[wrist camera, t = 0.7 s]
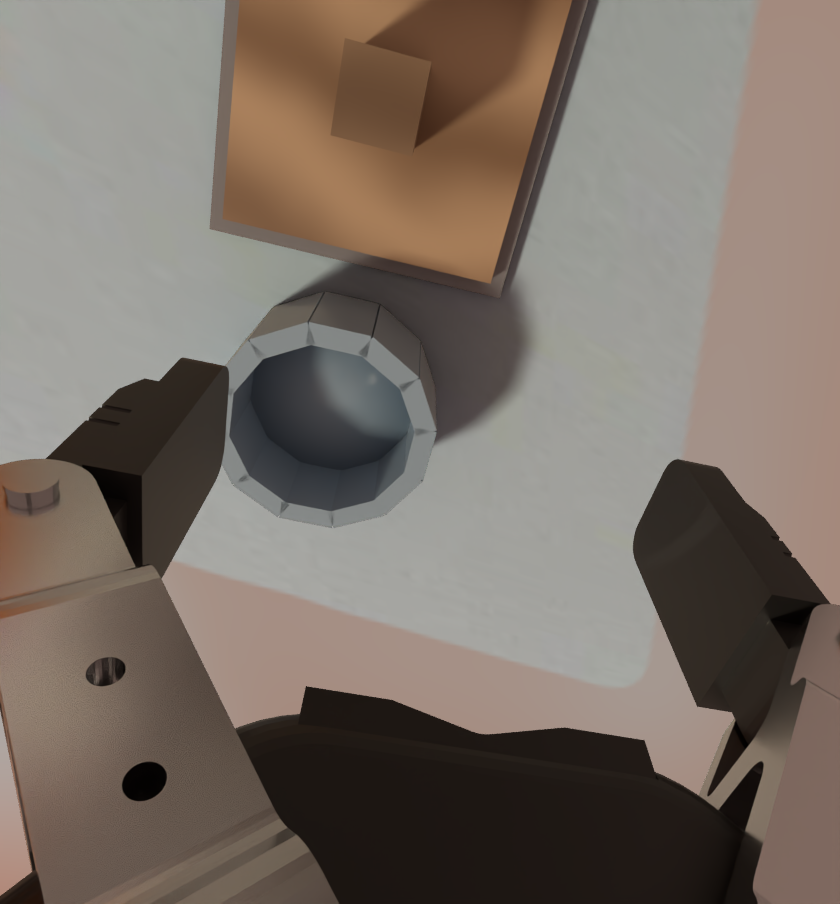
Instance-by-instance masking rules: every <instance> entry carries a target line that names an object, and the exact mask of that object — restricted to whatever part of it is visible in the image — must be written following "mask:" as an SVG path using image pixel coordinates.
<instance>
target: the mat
mask: <svg viewBox="0 0 840 904" xmlns="http://www.w3.org/2000/svg"><path fill="white" fill-rule="evenodd" d="M587 3H588V0H572V2H571V6H570V9H569V13H568V16H567V20H566V23H565V27H564V30H563V34H562V37H561V41H560V44H559V47H558V51H557V54H556V58H555V61H554V65H553V68H552V72H551V75H550V79H549V82H548V86H547V89H546V93H545V96H544V100H543V103H542V107H541V110H540V113H539V117H538V120H537V124H536V127H535V131H534V134H533V138H532V141H531V145H530V148H529V152H528V155H527V159H526V162H525V166H524V169H523V173H522V176H521V179H520V183H519V186H518V190H517V193H516V197H515V200H514V204H513V207H512V211H511V214H510V218H509V221H508V225H507V228H506V232H505V235H504V238H503V242H502V245H501V249H500V252H499V256H498V259H497V263H496V266H495V270H494V273H493V277H492V280H491V284H489V283H485V282H481V281H477V280H473V279H469V278H465V277H460V276H456V275H452V274H448V273H444V272H440V271H436V270H431V269H427V268H423V267H419V266H415V265H411V264H407V263H402V262H398V261H394V260H390V259H386V258H382V257H378V256H373V255H369V254H365V253H361V252H357V251H353V250H349V249H344V248H340V247H336V246H332V245H328V244H324V243H320V242H315V241H311V240H307V239H303V238H299V237H295V236H291V235H286V234H282V233H278V232H274V231H270V230H266V229H262V228H257V227H253V226H249V225H245V224H241V223H237V222H233V221H228V220H224V219H222V218H223V205H224V192H225V180H226V167H227V154H228V141H229V128H230V115H231V103H232V90H233V77H234V64H235V51H236V39H237V26H238V13H239V0H226V3H225V17H224V31H223V46H222V60H221V75H220V89H219V104H218V118H217V132H216V147H215V161H214V176H213V190H212V204H211V219H210V229H212V230H216V231H221V232H225V233H229V234H233V235H237V236H241V237H246V238H250V239H254V240H258V241H262V242H267V243H271V244H275V245H279V246H283V247H287V248H292V249H296V250H300V251H304V252H308V253H312V254H317V255H321V256H325V257H329V258H333V259H338V260H342V261H346V262H350V263H354V264H358V265H363V266H367V267H371V268H375V269H379V270H384V271H388V272H392V273H396V274H400V275H404V276H409V277H413V278H417V279H421V280H425V281H429V282H434V283H438V284H442V285H446V286H450V287H455V288H459V289H463V290H467V291H471V292H475V293H480V294H484V295H488V296H492V297H496V298H500V295H501V292H502V288H503V285H504V282H505V278H506V275H507V272H508V268H509V265H510V262H511V258H512V255H513V251H514V248H515V245H516V241H517V238H518V235H519V231H520V228H521V225H522V221H523V218H524V215H525V211H526V208H527V205H528V201H529V198H530V194H531V191H532V188H533V184H534V181H535V178H536V174H537V171H538V168H539V164H540V161H541V158H542V154H543V151H544V148H545V144H546V141H547V137H548V134H549V131H550V127H551V124H552V121H553V117H554V114H555V111H556V107H557V104H558V101H559V97H560V94H561V91H562V87H563V84H564V80H565V77H566V74H567V70H568V67H569V64H570V60H571V57H572V54H573V50H574V47H575V44H576V40H577V37H578V34H579V30H580V27H581V23H582V20H583V17H584V13H585V10H586V7H587Z"/></svg>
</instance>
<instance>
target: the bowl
mask: <svg viewBox="0 0 840 904" xmlns="http://www.w3.org/2000/svg"><path fill="white" fill-rule="evenodd" d="M225 366H226V367H227V368H228V371H229V392H228V406H227V420H226V435H225V448H224V455H223V460H222V466H223V468H224V470H225V471H226V473H227V475H228V477H229V479H230V481H231V483H232V484H234V485H233V486H235V487H236V488H237V489H239V490H240V491H242V492H243V493H244V494H246V495H247V496H249V497H250V498H251V499H253V500H254V501H256V502H257V503H258V504H260V505H261V506H263V507H264V508H266V509H267V510H268V511H270V512H271V513H273V514H274V515H275V516H277V517H278V516H279V515H280V516H279V518H283V519H288V520H293V521H298V522H303V523H309V524H314V525H319V526H324V527H329V528H332V526H333V528H336V527H340V526H344V525H348V524H352V523H356V522H361V521H365V520H369V519H373V518H377V517H381V516H384V514H385V515H386V514H387V513H388V512H389V511H391V510H392V509H393V508H394V507H395V506H396V505H397V504H398V503H399V502H401V501H402V500H403V499H404V498H405V497H406V496H407V495H408V494H409V493H411V492H412V491H413V490H414V489H415V488H416V487H417V486H418V485H419V484H421V483H422V481H423V480H424V476H425V473H426V469H427V465H428V462H429V458H430V455H431V451H432V447H433V444H434V440H435V437H436V433H437V424H436V388H435V385H434V382H433V378H432V375H431V372H430V369H429V366H428V362H427V359H426V356H425V353H424V350H423V346H422V343H421V342H420V340H419V339H418V338H417V337H416V336H415V335H414V334H413V333H412V332H410V331H409V330H408V329H407V328H406V327H405V326H404V325H403V324H402V323H400V322H399V321H398V320H397V319H396V318H395V317H394V316H393V315H392V314H391V313H389V312H388V311H387V310H386V309H385V308H384V307H383V306H382V305H380V306H379V304H378V303H374V302H369V301H365V300H361V299H356V298H352V297H348V296H344V295H339V294H335V293H331V292H321V293H317V294H314V295H311V296H307V297H304V298H301V299H298V300H294V301H291V302H288V303H285V304H281V305H278V306H275V307H273V308H272V309H271V310H270V311H269V312H268V314H267V315H266V316H265V317H264V318H263V320H262V321H261V322H260V323H259V324H258V326H257V327H256V328H255V329H254V330H253V332H252V333H251V334H250V335H249V336H248V338H247V339H246V340H245V341H244V342H243V343H242V345H241V346H240V347H239V349H238V350H237V351H236V352H235V354H234V355H233V356H232V358H231V359H230V360H229V361H228V363H227V364H226V365H225Z"/></svg>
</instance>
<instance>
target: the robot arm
mask: <svg viewBox="0 0 840 904" xmlns="http://www.w3.org/2000/svg"><path fill="white" fill-rule="evenodd" d="M228 392H229V371H228V368H227V367H226V366H222V365H217V364H212V363H207V362H202V361H197V360H192V359H187V358H181V359H180V360H178V362H177V363H176V364H175V365H174V366H173V367H172V368H171V369H170V370H169V371H168V372H167V373H166V374H165V376H164V377H163V378H162V379H161V380H160V381H154V380H149V379H143V380H140V381H138V382H135V383H133V384H130V385H128V386H125V387H123V388H120V389H118V390H117V391H116V392H115V393H114V394H113V395H112V396H111V397H110V398H109V399H108V400H107V401H105V402H104V403H103V404H102V408H100V407H99V408H98V409H97V410H96V411H95V412H94V413H93V414H92V415H91V416H90V417H89V421H85V422H84V423H83V424H82V425H80V426H79V427H78V428H77V429H76V430H75V431H74V432H73V433H72V434H71V435H70V436H69V437H68V438H67V439H66V440H65V441H64V442H63V443H62V444H61V445H60V446H59V447H58V448H56V449H55V450H54V451H53V452H52V453H51V454H50V455H49V456H48V457H47V458H46V459H29V460H20V461H15V462H10V463H6V464H2V465H0V712H1V716H2V721H3V726H4V732H5V737H6V742H7V747H8V752H9V757H10V762H11V767H12V772H13V777H14V782H15V787H16V792H17V797H18V802H19V808H20V813H21V818H22V824H23V829H24V834H25V840H26V845H27V850H28V855H29V860H30V865H31V870H32V872H31V873H30V874H29V875H27V876H26V877H25V878H23V879H22V880H21V881H19V882H18V883H17V884H16V885H14V886H13V887H12V888H11V889H9V890H8V891H6V892H5V893H4V894H2V895H1V896H0V904H840V606H839V605H834V604H830V603H829V601H828V600H827V599H826V598H825V596H824V595H823V594H822V592H821V591H820V590H819V588H818V587H817V586H816V584H815V583H814V582H813V580H812V579H811V578H810V576H809V575H808V574H807V573H806V571H805V570H804V569H803V567H802V566H801V565H800V563H799V562H798V561H797V560H796V558H793V557H791V555H792V553H791V552H790V551H789V549H788V548H787V547H786V546H785V544H784V543H783V541H779V536H778V535H777V534H776V532H775V531H774V530H773V528H772V527H771V526H770V524H769V523H768V522H767V521H766V519H765V518H764V517H762V515H760V514H759V513H758V512H757V511H755V510H754V509H753V508H752V507H750V506H749V505H748V504H747V503H745V501H744V500H743V499H742V497H741V496H740V495H739V493H738V492H737V491H736V489H735V488H734V487H733V486H732V484H731V483H730V481H729V480H728V479H727V477H726V476H725V475H724V473H723V472H722V471H721V470H720V469H719V468H717V467H713V466H708V465H703V464H698V463H693V462H689V461H684V460H679V459H677V460H674V461H672V462H671V463H670V464H669V465H668V466H667V467H666V469H665V471H664V472H663V474H662V477H661V479H660V481H659V483H658V485H657V487H656V489H655V491H654V493H653V495H652V497H651V499H650V501H649V503H648V505H647V507H646V509H645V511H644V514H643V516H642V518H641V520H640V522H639V524H638V526H637V528H636V532H635V535H634V541H633V553H634V558H635V561H636V564H637V566H638V568H639V571H640V573H641V575H642V578H643V580H644V583H645V585H646V587H647V590H648V592H649V594H650V597H651V599H652V601H653V604H654V606H655V608H656V611H657V613H658V615H659V618H660V620H661V622H662V625H663V627H664V629H665V632H666V634H667V637H668V639H669V641H670V643H671V646H672V648H673V651H674V653H675V655H676V657H677V660H678V662H679V665H680V667H681V669H682V672H683V674H684V676H685V679H686V681H687V683H688V686H689V688H690V691H691V693H692V695H693V697H694V700H695V702H696V705H697V707H704V708H709V709H716V710H722V711H728V712H732V713H733V715H734V720H733V721H732V722H731V724H730V725H729V727H728V728H727V729H726V731H725V733H724V734H723V737H722V739H721V741H720V744H719V746H718V749H717V751H716V754H715V756H714V759H713V761H712V764H711V766H710V769H709V771H708V774H707V776H706V779H705V781H704V783H703V786H702V788H701V791H700V794H699V796H698V795H697V794H695V793H694V792H692V791H690V790H689V789H687V788H686V787H684V786H682V785H681V784H679V783H677V782H675V781H673V780H671V779H669V778H667V777H665V776H663V775H661V774H658V773H656V772H654V768H653V765H652V762H651V759H650V756H649V753H648V750H647V747H646V744H645V741H644V740H638V739H632V738H626V737H620V736H614V735H607V734H601V733H595V732H588V731H582V730H576V729H570V728H555V729H544V730H533V731H522V732H511V733H501V734H489V735H488V734H487V735H485V734H478V733H475V732H471V731H469V730H466V729H464V728H461V727H458V726H456V725H454V724H451V723H449V722H446V721H444V720H441V719H438V718H436V717H433V716H430V715H428V714H426V713H423V712H421V711H418V710H416V709H413V708H411V707H408V706H406V705H403V704H401V703H398V702H395V701H393V700H388V699H382V698H376V697H369V696H363V695H357V694H351V693H344V692H338V691H332V690H326V689H319V688H312V687H307V686H306V689H305V694H304V698H303V703H302V708H301V712H300V714H297V715H286V716H279V717H274V718H268V719H263V720H259V721H256V722H253V723H250V724H247V725H244V726H241V727H238V728H236V729H235V728H234V726H233V724H232V722H231V720H230V718H229V716H228V714H227V712H226V710H225V708H224V706H223V704H222V702H221V700H220V698H219V695H218V693H217V691H216V689H215V687H214V685H213V683H212V681H211V679H210V677H209V675H208V673H207V671H206V669H205V667H204V665H203V663H202V661H201V659H200V657H199V655H198V653H197V651H196V649H195V647H194V645H193V643H192V641H191V638H190V636H189V634H188V633H187V630H186V628H185V626H184V624H183V622H182V620H181V618H180V616H179V614H178V612H177V610H176V608H175V606H174V604H173V602H172V600H171V598H170V596H169V594H168V592H167V590H166V588H165V586H164V584H163V582H162V580H161V578H162V577H163V575H164V573H165V571H166V570H167V568H168V566H169V564H170V562H171V561H172V559H173V557H174V555H175V553H176V551H177V550H178V548H179V546H180V544H181V542H182V541H183V539H184V537H185V535H186V533H187V532H188V530H189V528H190V526H191V524H192V523H193V521H194V519H195V517H196V515H197V514H198V512H199V510H200V508H201V506H202V504H203V503H204V501H205V499H206V497H207V495H208V494H209V492H210V490H211V488H212V486H213V485H214V483H215V481H216V479H217V476H218V474H219V471H220V468H221V464H222V460H223V455H224V448H225V435H226V420H227V406H228Z"/></svg>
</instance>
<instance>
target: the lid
mask: <svg viewBox="0 0 840 904" xmlns="http://www.w3.org/2000/svg"><path fill="white" fill-rule="evenodd" d="M571 2H572V0H239V13H238V26H237V39H236V51H235V64H234V77H233V90H232V103H231V115H230V128H229V141H228V154H227V167H226V180H225V192H224V205H223V218H222V219H224V220H228V221H233V222H237V223H241V224H245V225H249V226H253V227H257V228H262V229H266V230H270V231H274V232H278V233H282V234H286V235H291V236H295V237H299V238H303V239H307V240H311V241H315V242H320V243H324V244H328V245H332V246H336V247H340V248H344V249H349V250H353V251H357V252H361V253H365V254H369V255H373V256H378V257H382V258H386V259H390V260H394V261H398V262H402V263H407V264H411V265H415V266H419V267H423V268H427V269H431V270H436V271H440V272H444V273H448V274H452V275H456V276H460V277H465V278H469V279H473V280H477V281H481V282H485V283H489V284H491V280H492V277H493V273H494V270H495V266H496V263H497V259H498V256H499V252H500V249H501V245H502V242H503V238H504V235H505V232H506V228H507V225H508V221H509V218H510V214H511V211H512V207H513V204H514V200H515V197H516V193H517V190H518V186H519V183H520V179H521V176H522V173H523V169H524V166H525V162H526V159H527V155H528V152H529V148H530V145H531V141H532V138H533V134H534V131H535V127H536V124H537V120H538V117H539V113H540V110H541V107H542V103H543V100H544V96H545V93H546V89H547V86H548V82H549V79H550V75H551V72H552V68H553V65H554V61H555V58H556V54H557V51H558V47H559V44H560V41H561V37H562V34H563V30H564V27H565V23H566V20H567V16H568V13H569V9H570V6H571Z"/></svg>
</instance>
